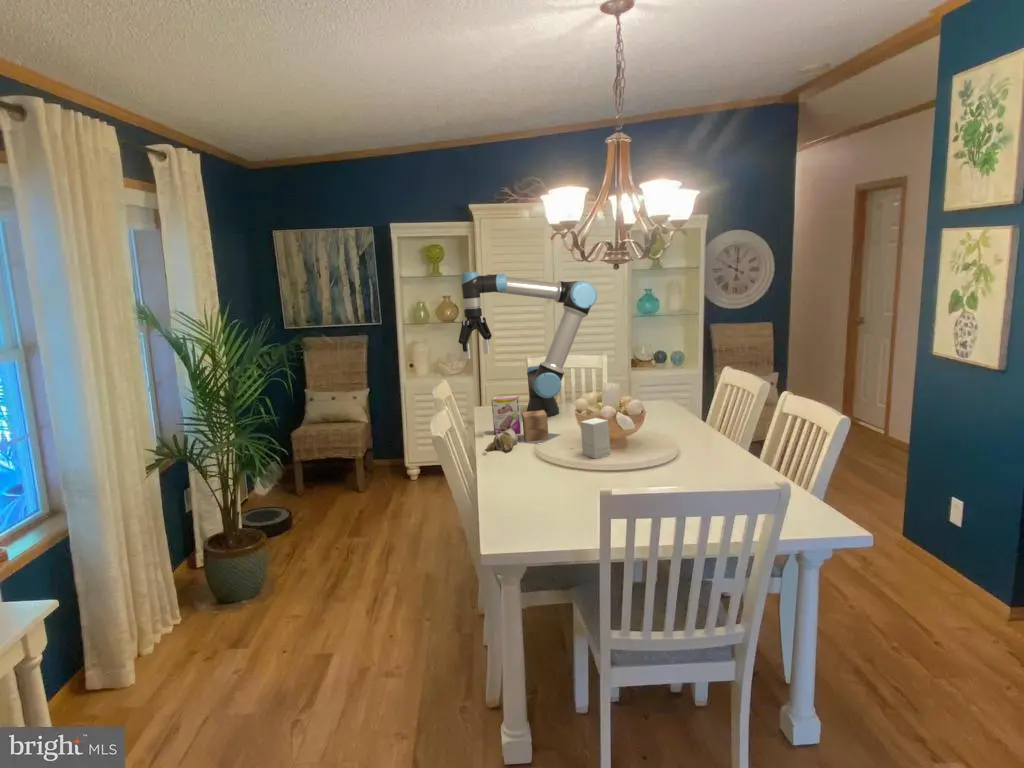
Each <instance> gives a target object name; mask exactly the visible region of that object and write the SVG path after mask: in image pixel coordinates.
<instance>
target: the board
mask: <svg viewBox="0 0 1024 768" xmlns="http://www.w3.org/2000/svg"><path fill="white" fill-rule="evenodd" d="M561 435H562V434H561V433H560V434H559V433H550V432H548V436H549V439H548V440H538V441H529V442H526V440H525V438H524V435H522V436H519V437H518V442H517V443H518V444H519V443H522V444H530V445H532V444H533V445H539V444H538V443H542V444H543V443H546V442H549V441H550V440H552V439H555V438H557V437H559V436H561Z"/></svg>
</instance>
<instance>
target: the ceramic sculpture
mask: <svg viewBox="0 0 1024 768" xmlns="http://www.w3.org/2000/svg"><path fill="white" fill-rule="evenodd" d="M517 435H518V434H515V432H514V431H513V429H512V428H510V429H508V430H504V429H502V430H501V431H500V433H499V434H497V435H494V438H493V441H492V442H490V443H489V444H488V445H487V447H486V448H485V449H484V451H485V452H493V451H495V450H498V451H504V452H506V453H509V452H512V450H513V448H514V446H517V445H518V443H519V442H518V438H519V437H518V436H517Z"/></svg>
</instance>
